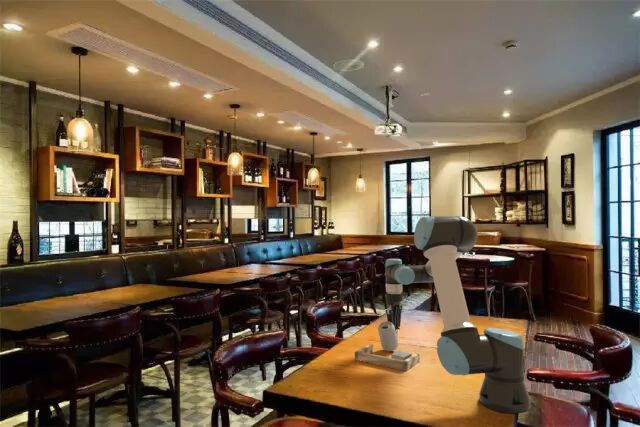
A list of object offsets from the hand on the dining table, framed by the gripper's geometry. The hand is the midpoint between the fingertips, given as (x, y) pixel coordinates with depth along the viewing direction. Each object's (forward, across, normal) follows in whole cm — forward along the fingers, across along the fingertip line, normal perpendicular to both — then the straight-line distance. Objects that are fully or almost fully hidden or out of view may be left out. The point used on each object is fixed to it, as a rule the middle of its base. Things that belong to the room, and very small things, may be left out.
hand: (394, 343), depth 196 cm
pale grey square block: (+2, +17, +12) cm, 21 cm away
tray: (+2, +18, +6) cm, 19 cm away
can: (+1, +4, 0) cm, 4 cm away
